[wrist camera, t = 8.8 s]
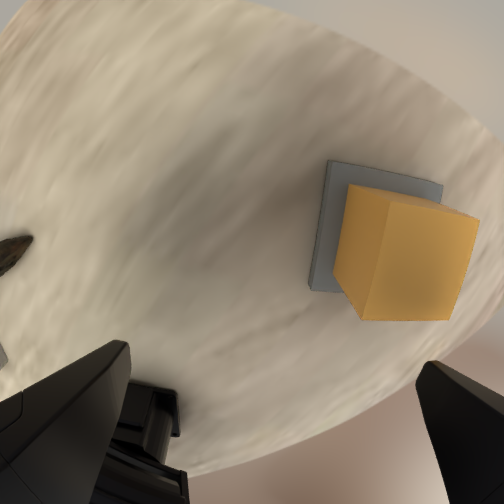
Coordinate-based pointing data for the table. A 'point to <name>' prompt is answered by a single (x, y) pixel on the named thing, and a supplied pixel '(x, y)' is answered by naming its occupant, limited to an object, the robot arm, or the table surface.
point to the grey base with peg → (335, 207)
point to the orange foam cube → (402, 255)
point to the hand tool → (12, 252)
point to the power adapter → (2, 357)
